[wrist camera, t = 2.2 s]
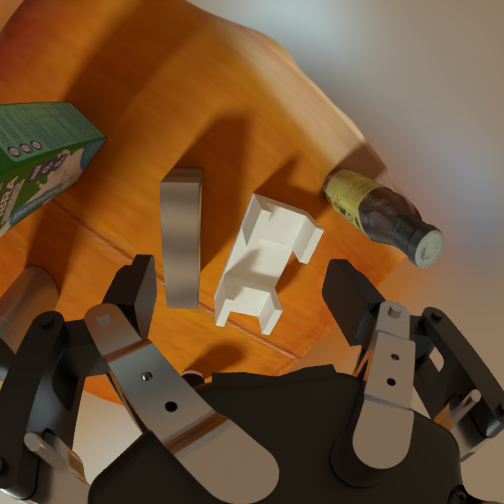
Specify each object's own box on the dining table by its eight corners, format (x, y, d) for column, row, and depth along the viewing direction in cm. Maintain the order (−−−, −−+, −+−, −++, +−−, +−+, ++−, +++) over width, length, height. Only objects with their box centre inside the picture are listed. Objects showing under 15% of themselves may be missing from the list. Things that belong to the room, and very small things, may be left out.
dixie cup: (183, 388, 55) (181, 428, 46) (167, 369, 52) (163, 412, 42) (215, 382, 55) (217, 424, 46) (202, 362, 51) (202, 407, 42)
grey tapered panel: (200, 271, 42) (198, 308, 34) (174, 271, 41) (167, 307, 33) (203, 167, 34) (199, 182, 26) (173, 167, 34) (160, 182, 26)
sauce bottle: (314, 198, 38) (388, 269, 21) (332, 160, 36) (424, 205, 18) (349, 213, 40) (428, 285, 23) (366, 178, 38) (459, 231, 20)
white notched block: (262, 306, 46) (269, 335, 40) (214, 295, 44) (214, 324, 38) (307, 211, 39) (324, 230, 33) (252, 192, 37) (260, 209, 31)
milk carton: (69, 101, 26) (-72, 117, 4) (107, 138, 30) (-30, 188, 8) (38, 150, 28) (-88, 210, 6) (73, 186, 32) (-45, 278, 10)
